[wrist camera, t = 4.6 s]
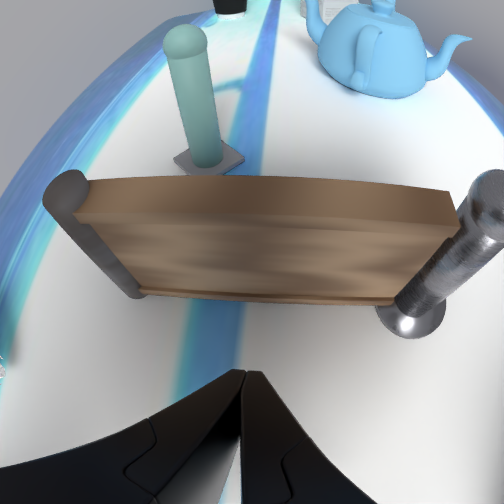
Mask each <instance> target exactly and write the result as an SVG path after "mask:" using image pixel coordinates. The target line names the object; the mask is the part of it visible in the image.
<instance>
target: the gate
mask: <svg viewBox="0 0 504 504" xmlns="http://www.w3.org/2000/svg"><path fill="white" fill-rule="evenodd" d="M42 202H43V206H44V207H45V209H46V210H47V211H48V212H49V213H50V214H51V216H52V217H53V218H54V219H55V220H56V221H57V223H58V224H59V225H60V226H61V227H62V228H63V229H64V230H65V232H66V233H67V234H68V235H69V236H70V237H71V238H72V239H73V240H74V242H75V243H76V244H77V245H78V246H79V247H80V248H81V249H82V250H83V251H84V252H85V253H86V254H87V255H88V256H89V258H90V259H91V260H92V261H93V262H94V263H95V264H96V265H97V266H98V267H99V268H100V269H101V270H102V271H103V272H104V273H105V274H106V275H107V276H108V277H109V278H110V279H111V280H112V281H113V282H114V283H115V284H116V285H117V286H118V287H119V288H120V289H121V290H122V291H124V292H125V293H126V294H127V295H128V296H129V297H130V298H133V299H141V298H143V297H145V296H147V295H148V294H149V295H160V296H172V297H184V298H197V299H211V300H227V301H244V302H263V303H287V304H317V305H391V304H392V303H393V302H394V297H395V296H396V295H397V294H398V293H399V292H400V291H401V290H402V289H403V287H404V286H405V285H406V284H407V283H408V282H409V281H410V280H411V279H412V278H413V277H414V276H415V275H416V273H417V272H418V271H419V270H420V269H421V268H422V267H423V266H424V264H425V263H426V262H427V261H428V260H429V259H430V258H431V256H432V255H433V254H434V253H435V252H436V251H437V249H438V248H439V247H440V246H441V245H442V243H443V242H444V241H445V240H446V239H447V237H450V238H452V237H453V236H454V235H455V234H456V233H457V231H458V230H459V229H460V228H461V226H460V223H459V220H458V216H457V213H456V210H455V207H454V204H453V201H452V198H451V196H450V193H449V191H442V190H435V189H427V188H419V187H411V186H403V185H393V184H384V183H374V182H362V181H350V180H337V179H322V178H304V177H282V176H244V175H190V176H153V177H131V178H114V179H99V180H87V179H86V178H85V176H84V175H83V173H82V172H81V171H79V170H68V171H66V172H63V173H62V174H60V175H58V176H57V177H56V178H55V179H54V180H53V181H52V182H51V183H50V184H49V185H48V187H47V188H46V190H45V192H44V195H43V199H42Z"/></svg>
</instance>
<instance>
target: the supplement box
mask: <svg viewBox="0 0 504 504" xmlns="http://www.w3.org/2000/svg"><path fill="white" fill-rule="evenodd" d="M318 2H319V12H320V16H321V19H322V20H323V22H324V23H326V24H327V25H329V23H330V22H331V21H332V20H333V19H334V17H335V16H336V15H337V14H338V13H339V12H340V11H341V10H342V9H343V8H345V7H346V6H348V5H350V4H358V0H318ZM306 14H307V8H306V2H305V0H301V16H303V17H305V18H306Z"/></svg>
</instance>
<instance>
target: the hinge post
mask: <svg viewBox="0 0 504 504" xmlns="http://www.w3.org/2000/svg"><path fill="white" fill-rule="evenodd" d="M456 213H457V216H458V220H459V223H460V226H461V228H460V229H459V230H458V231H457V233H456V234H455V235H454V236H453V237H452V238H450V237H447V239H446V240H445V241H444V242H443V243H442V245H441V246H440V247H439V248H438V249H437V251H436V252H435V253H434V254H433V255H432V256H431V258H430V259H429V260H428V261H427V262H426V263H425V264H424V266H423V267H422V268H421V269H420V270H419V271H418V272H417V273H416V275H415V276H414V277H413V278H412V279H411V280H410V281H409V282H408V283H407V284H406V285H405V286H404V287H403V289H402V290H401V291H400V292H399V293H398V294H397V295H396V296H395V297H394V302H393V303H392V304H391V305H375V308H376V311H377V314H378V316H379V318H380V320H381V321H382V323H383V324H384V325H385V326H386V327H387V328H388V329H389V330H390V331H391V332H393V333H394V334H396V335H398V336H400V337H403V338H407V339H419V338H422V337H425V336H427V335H429V334H430V333H432V332H433V331H434V330H435V329H437V328H438V326H439V325H440V324H441V322H442V320H443V318H444V315H445V311H446V298H447V297H448V296H449V295H450V294H452V293H453V292H454V291H455V290H457V289H458V288H459V287H460V286H461V285H463V284H464V283H465V282H466V281H467V280H468V279H470V278H471V277H472V276H473V275H474V274H475V273H477V272H478V271H479V270H480V269H481V268H482V267H483V266H484V265H485V264H487V263H488V262H489V261H490V260H491V259H492V258H493V257H494V256H495V255H496V254H497V253H498V252H499V251H501V250H502V249H503V248H504V170H500V169H493V170H488V171H486V172H483V173H482V174H480V175H479V176H478V177H477V178H476V179H475V180H474V182H473V183H472V185H471V187H470V189H469V192H468V195H467V196H466V198H465V199H464V200H463V202H462V203H461V205H460V206H459V208H458V209H457V210H456Z"/></svg>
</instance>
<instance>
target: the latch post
mask: <svg viewBox="0 0 504 504" xmlns="http://www.w3.org/2000/svg"><path fill="white" fill-rule="evenodd" d="M163 51H164V53H165V55H166V57H167V61H168V65H169V69H170V73H171V78H172V82H173V86H174V90H175V94H176V98H177V102H178V106H179V110H180V114H181V118H182V122H183V126H184V130H185V134H186V138H187V142H188V145H189V149H188V150H186V151H184V152H183V153H181V154H179V155H178V156H176V157H174V158H173V159H174V162H175V163H176V164H177V165H178V166H179V167H180V168H182V169H183V170H184V171H185V172H186V173H187V174H188V175H189V176H190V175H223V174H225V173H226V172H228V171H229V170H231V169H232V168H234V167H236V166H237V165H239V164H240V163H242V162H244V161H245V159H244V157H243V156H242V155H241V154H239V153H238V152H237V151H235V150H234V149H233V148H231V147H230V146H229V145H227V144H226V143H225V142H223V141H222V140H221V138H220V132H219V126H218V119H217V113H216V107H215V100H214V94H213V87H212V81H211V74H210V67H209V61H208V54H207V37H206V35H205V33H204V32H203V31H202V30H201V29H200V28H199V27H197V26H195V25H191V24H183V25H179V26H176V27H174V28H173V29H171V30H170V31H169V32H168V33H167V34H166V36H165V38H164V41H163Z"/></svg>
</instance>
